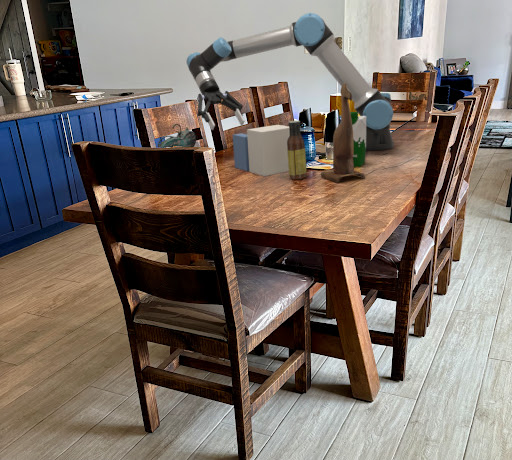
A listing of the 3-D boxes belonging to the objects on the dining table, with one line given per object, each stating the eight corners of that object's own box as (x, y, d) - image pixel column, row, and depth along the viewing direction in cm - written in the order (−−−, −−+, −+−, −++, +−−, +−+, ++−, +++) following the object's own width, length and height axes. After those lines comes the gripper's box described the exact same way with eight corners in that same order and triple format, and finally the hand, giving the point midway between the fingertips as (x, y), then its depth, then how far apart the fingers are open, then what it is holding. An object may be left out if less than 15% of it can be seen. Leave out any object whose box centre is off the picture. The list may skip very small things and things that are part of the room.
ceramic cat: (191, 172, 199) (185, 120, 192) (203, 173, 195) (198, 121, 188) (153, 184, 184) (146, 128, 177) (166, 186, 180) (159, 129, 173)
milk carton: (339, 167, 193) (339, 113, 186) (345, 162, 200) (345, 110, 194) (362, 168, 189) (362, 113, 182) (367, 162, 197) (368, 110, 190)
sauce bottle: (308, 176, 182) (307, 119, 176) (304, 180, 177) (302, 122, 170) (290, 175, 185) (288, 120, 178) (286, 179, 179) (283, 122, 172)
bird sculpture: (339, 185, 170) (341, 85, 158) (319, 177, 180) (320, 83, 168) (366, 180, 174) (370, 83, 163) (345, 172, 184) (347, 81, 173)
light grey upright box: (233, 166, 204) (230, 126, 198) (265, 160, 212) (263, 121, 206) (264, 176, 186) (261, 132, 180) (298, 168, 194) (297, 126, 188)
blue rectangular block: (234, 167, 203) (232, 134, 198) (243, 165, 205) (241, 133, 200) (246, 171, 195) (244, 137, 191) (255, 169, 197) (253, 135, 193)
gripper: (231, 89, 219) (251, 127, 212) (177, 94, 207) (198, 135, 200) (236, 76, 213) (257, 115, 206) (182, 81, 201) (202, 123, 194)
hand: (228, 125), depth 203 cm, fingers open, 13 cm apart
